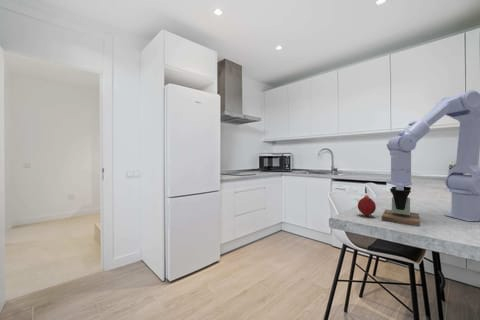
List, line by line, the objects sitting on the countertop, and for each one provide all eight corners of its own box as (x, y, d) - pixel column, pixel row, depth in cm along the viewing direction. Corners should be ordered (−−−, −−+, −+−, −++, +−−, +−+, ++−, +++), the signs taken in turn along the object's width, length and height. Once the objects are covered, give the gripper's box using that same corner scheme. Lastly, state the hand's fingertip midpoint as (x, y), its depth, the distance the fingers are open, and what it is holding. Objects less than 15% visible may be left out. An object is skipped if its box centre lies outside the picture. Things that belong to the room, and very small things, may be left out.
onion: (378, 218, 77) (378, 196, 76) (360, 218, 78) (360, 196, 78) (372, 214, 82) (372, 193, 82) (355, 213, 83) (355, 193, 83)
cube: (392, 209, 79) (392, 196, 79) (410, 211, 76) (410, 197, 76) (391, 212, 76) (391, 198, 75) (409, 214, 72) (410, 200, 72)
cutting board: (385, 213, 84) (385, 209, 84) (418, 217, 78) (418, 213, 78) (381, 220, 74) (381, 216, 74) (419, 226, 68) (419, 221, 68)
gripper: (388, 168, 84) (388, 203, 84) (385, 170, 73) (385, 210, 73) (411, 168, 80) (411, 205, 80) (411, 171, 68) (411, 213, 68)
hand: (400, 208), depth 76 cm, fingers closed on cube, 5 cm apart
